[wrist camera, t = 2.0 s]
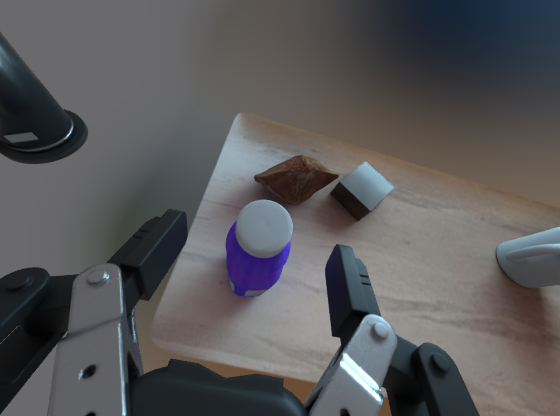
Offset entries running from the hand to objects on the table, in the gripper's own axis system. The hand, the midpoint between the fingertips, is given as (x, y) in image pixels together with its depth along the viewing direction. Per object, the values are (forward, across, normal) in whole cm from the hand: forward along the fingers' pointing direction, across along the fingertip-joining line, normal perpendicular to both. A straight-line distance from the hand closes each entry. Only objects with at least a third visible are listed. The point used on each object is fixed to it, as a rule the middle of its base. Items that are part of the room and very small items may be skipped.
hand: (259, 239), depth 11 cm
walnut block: (+27, -16, +10) cm, 33 cm away
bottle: (+11, +1, +17) cm, 20 cm away
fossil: (+25, -3, +11) cm, 28 cm away
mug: (+22, -46, +15) cm, 53 cm away
